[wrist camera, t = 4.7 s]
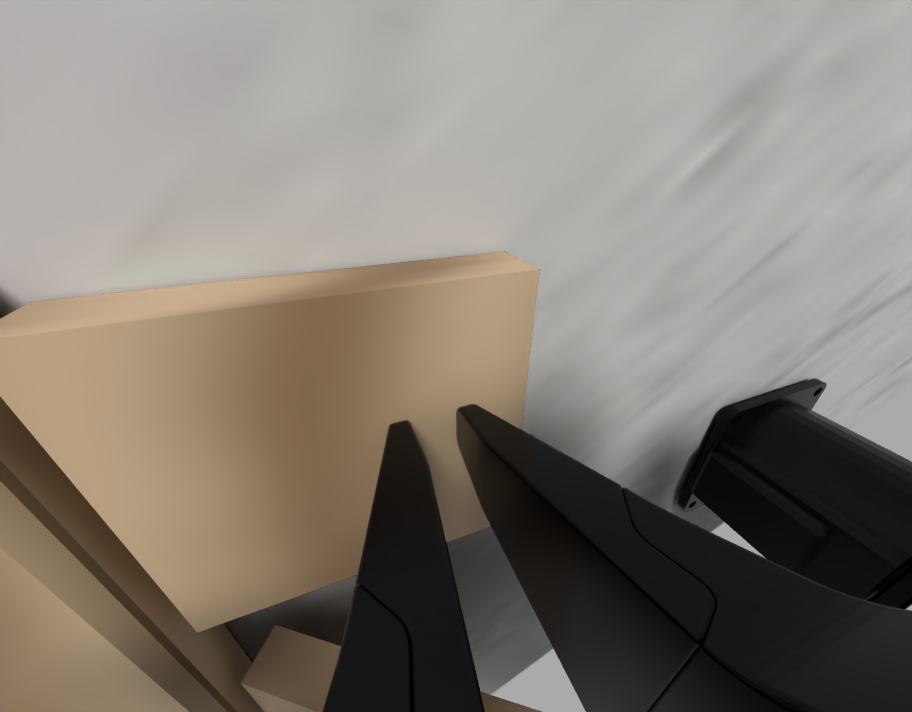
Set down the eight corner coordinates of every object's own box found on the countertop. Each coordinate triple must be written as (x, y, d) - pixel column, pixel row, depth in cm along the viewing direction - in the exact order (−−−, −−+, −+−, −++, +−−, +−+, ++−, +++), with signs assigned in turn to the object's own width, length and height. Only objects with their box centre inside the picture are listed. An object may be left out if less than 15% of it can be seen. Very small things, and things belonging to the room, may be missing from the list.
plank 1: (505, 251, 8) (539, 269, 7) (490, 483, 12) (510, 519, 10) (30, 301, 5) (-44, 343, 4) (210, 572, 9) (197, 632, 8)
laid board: (-46, 254, 5) (-183, 295, 3) (295, 721, 15) (294, 780, 13) (-774, 307, 3) (-1521, 417, 2) (152, 788, 13) (135, 862, 12)
